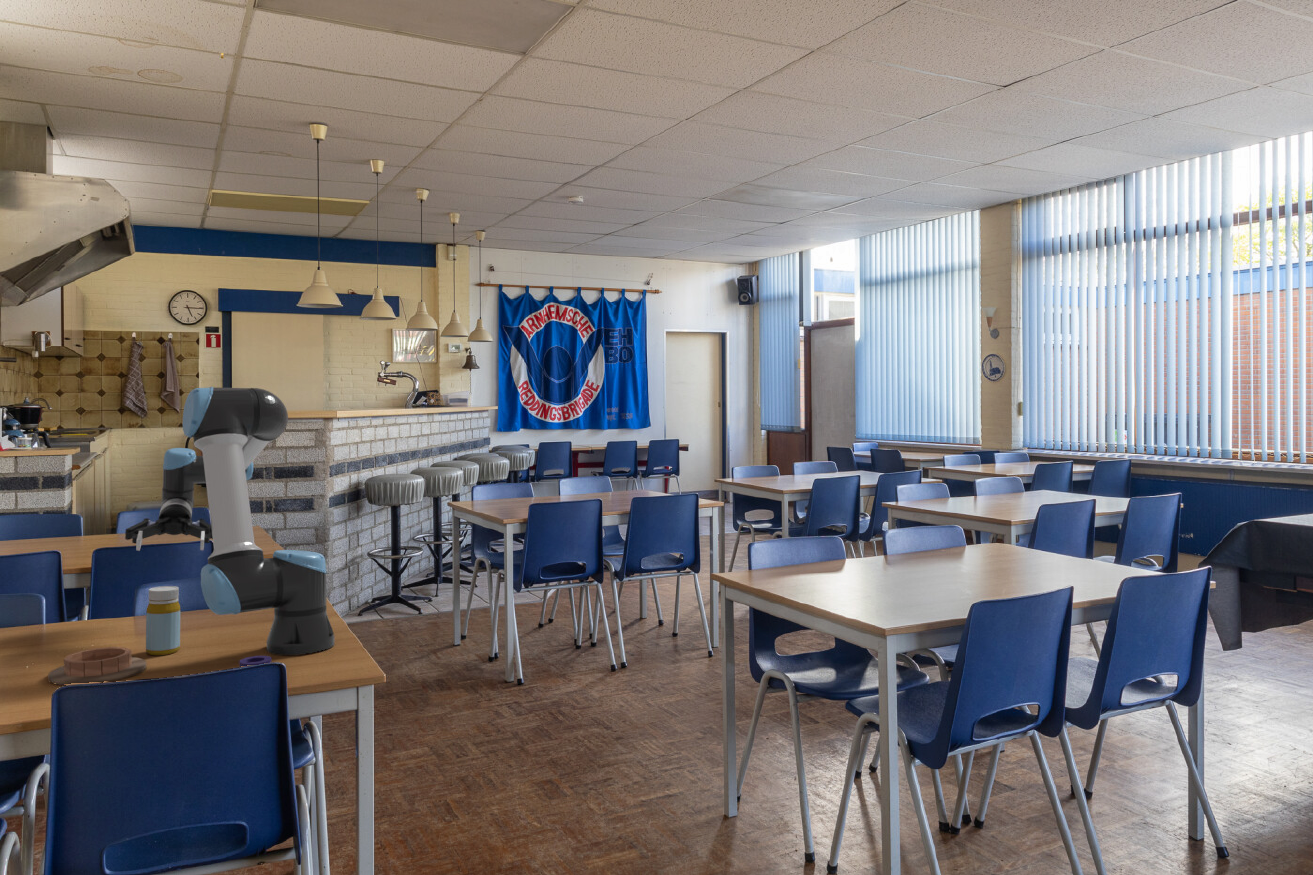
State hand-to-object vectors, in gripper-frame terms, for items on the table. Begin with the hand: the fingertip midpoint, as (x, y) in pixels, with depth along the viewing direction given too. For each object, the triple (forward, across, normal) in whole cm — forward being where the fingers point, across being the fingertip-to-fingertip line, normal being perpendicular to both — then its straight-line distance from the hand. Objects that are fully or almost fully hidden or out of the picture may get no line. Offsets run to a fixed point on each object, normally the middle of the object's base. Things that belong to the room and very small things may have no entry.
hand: (170, 545), depth 215 cm
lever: (+40, -17, -16) cm, 46 cm away
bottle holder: (+24, +12, -20) cm, 33 cm away
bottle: (+11, 0, -23) cm, 25 cm away
